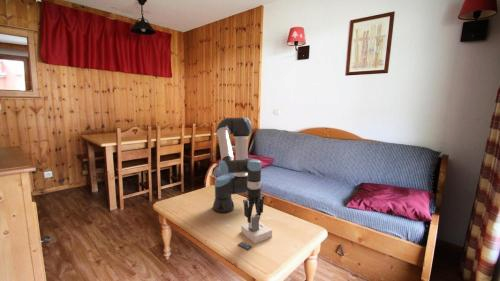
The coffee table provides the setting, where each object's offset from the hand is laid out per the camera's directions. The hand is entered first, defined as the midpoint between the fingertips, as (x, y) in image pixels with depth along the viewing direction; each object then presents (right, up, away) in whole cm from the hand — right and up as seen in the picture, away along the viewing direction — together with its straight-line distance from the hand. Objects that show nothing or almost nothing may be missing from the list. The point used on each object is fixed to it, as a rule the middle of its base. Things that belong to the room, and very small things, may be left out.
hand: (253, 226), depth 140 cm
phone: (-5, -8, -9) cm, 13 cm away
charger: (0, -4, 0) cm, 4 cm away
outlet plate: (+2, -5, +2) cm, 6 cm away
